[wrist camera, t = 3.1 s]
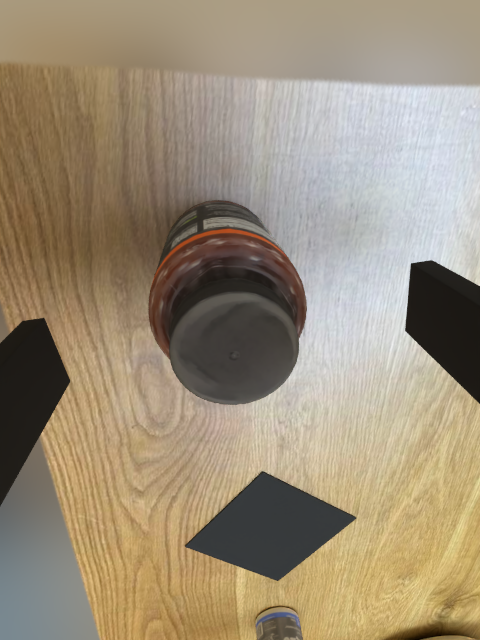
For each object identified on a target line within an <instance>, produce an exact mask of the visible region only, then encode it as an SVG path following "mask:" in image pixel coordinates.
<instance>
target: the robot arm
mask: <svg viewBox="0 0 480 640" xmlns="http://www.w3.org/2000/svg"><path fill="white" fill-rule="evenodd" d="M405 331H406V332H407V333H408V334H409V335H410V336H411V337H412V338H413V339H414V340H415V341H416V342H417V343H418V344H419V345H420V346H421V347H422V348H423V349H424V350H425V351H426V352H427V353H428V354H429V355H430V356H431V357H432V358H434V359H435V360H436V361H437V362H438V363H439V364H440V365H441V366H442V367H443V368H444V369H445V370H446V371H447V372H448V373H449V374H450V375H451V376H452V377H453V378H454V379H455V380H456V381H457V382H458V383H459V384H460V385H461V386H462V387H463V388H464V389H465V390H466V391H467V392H468V393H469V394H470V395H471V396H472V397H473V398H474V399H475V400H476V401H477V402H478V403H480V286H478V285H476V284H475V283H473V282H471V281H469V280H467V279H465V278H464V277H462V276H460V275H458V274H456V273H454V272H453V271H451V270H449V269H447V268H445V267H443V266H442V265H440V264H438V263H436V262H434V261H432V260H431V261H424V262H417V263H411V270H410V281H409V293H408V304H407V316H406V328H405ZM69 383H70V379H69V377H68V374H67V372H66V370H65V367H64V365H63V362H62V360H61V357H60V355H59V352H58V350H57V348H56V345H55V343H54V340H53V338H52V335H51V333H50V331H49V328H48V326H47V323H46V321H45V318H40V319H33V320H27V321H22V322H21V323H20V324H19V325H18V326H17V327H16V328H15V329H14V330H13V331H12V332H11V333H10V334H9V335H8V336H7V337H6V338H5V339H4V340H3V341H2V342H1V343H0V505H1V504H2V502H3V500H4V499H5V497H6V495H7V493H8V491H9V490H10V488H11V486H12V484H13V483H14V481H15V479H16V477H17V475H18V474H19V472H20V470H21V468H22V466H23V465H24V463H25V461H26V459H27V458H28V456H29V454H30V452H31V450H32V448H33V447H34V445H35V443H36V441H37V440H38V438H39V436H40V435H41V433H42V431H43V429H44V427H45V426H46V424H47V422H48V420H49V419H50V417H51V415H52V413H53V411H54V410H55V408H56V406H57V404H58V402H59V401H60V399H61V397H62V395H63V394H64V392H65V390H66V388H67V386H68V385H69Z"/></svg>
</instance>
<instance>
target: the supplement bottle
mask: <svg viewBox="0 0 480 640" xmlns="http://www.w3.org/2000/svg"><path fill="white" fill-rule="evenodd" d="M306 311H307V306H306V296H305V292H304V287H303V284H302V281H301V279H300V277H299V275H298V273H297V271H296V269H295V267H294V266H293V264H292V263H291V262H290V260H289V258H288V257H287V256H286V254H285V253H284V252H283V250H282V249H281V247H280V246H279V245H278V243H277V242H276V241H275V239H274V238H273V237H272V235H271V234H270V233H269V231H268V230H267V228H266V227H265V226H264V224H263V223H262V222H261V221H260V220H259V218H258V217H257V216H256V215H254V214H253V213H252V212H251V211H250V210H248V209H247V208H245V207H243V206H241V205H239V204H236V203H233V202H229V201H207V202H204V203H201V204H199V205H196V206H194V207H192V208H191V209H189V210H188V211H186V212H185V213H184V214H183V215H182V216H181V217H180V218H179V219H178V220H177V221H176V223H175V224H174V225H173V227H172V229H171V231H170V232H169V235H168V237H167V240H166V243H165V246H164V249H163V252H162V255H161V258H160V261H159V264H158V267H157V270H156V273H155V276H154V280H153V283H152V286H151V290H150V296H149V320H150V325H151V330H152V332H153V335H154V337H155V340H156V342H157V344H158V345H159V347H160V348H161V350H162V351H163V352H164V354H165V355H166V356H167V357H168V358H169V359H170V361H171V365H172V368H173V371H174V373H175V374H176V376H177V378H178V379H179V381H180V382H181V383H182V384H183V385H184V386H185V388H187V389H188V390H189V391H190V392H192V393H193V394H195V395H196V396H198V397H200V398H202V399H204V400H207V401H211V402H214V403H219V404H228V405H237V404H246V403H250V402H253V401H256V400H259V399H261V398H264V397H266V396H267V395H269V394H270V393H272V392H273V391H275V390H276V389H278V388H279V387H280V386H281V385H282V384H283V383H284V382H285V381H286V379H287V378H288V377H289V376H290V374H291V372H292V370H293V368H294V366H295V364H296V362H297V357H298V353H299V338H300V335H301V333H302V330H303V328H304V324H305V320H306Z"/></svg>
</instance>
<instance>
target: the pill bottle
mask: <svg viewBox="0 0 480 640" xmlns="http://www.w3.org/2000/svg"><path fill="white" fill-rule="evenodd" d="M256 634H257V640H303V637H302V632H301V627H300V621H299V617H298V615H297V613H296V612H295V611H294V610H292V609H290V608H286V607H276V608H272V609H268V610H266V611H264V612H262V613H261V614H260V615H259V616H258V617H257V619H256Z"/></svg>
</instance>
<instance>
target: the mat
mask: <svg viewBox="0 0 480 640" xmlns="http://www.w3.org/2000/svg"><path fill="white" fill-rule="evenodd" d="M355 519H356V517H354V516H352V515H350V514H348V513H346V512H344V511H342V510H340V509H338V508H336V507H334V506H332V505H329V504H327V503H325V502H323V501H321V500H319V499H317V498H315V497H313V496H311V495H309V494H307V493H305V492H303V491H301V490H299V489H297V488H295V487H293V486H291V485H289V484H287V483H285V482H283V481H281V480H279V479H277V478H275V477H272V476H270V475H268V474H266V473H264V472H262V473H261V474H260V475H259V476H258V477H256V478H255V479H254V480H253V481H252V482H251V483H250V484H249V485H248V486H247V487H246V488H245V489H244V490H243V491H242V492H241V493H240V494H239V495H238V496H237V497H236V498H235V499H234V500H233V501H231V502H230V503H229V504H228V505H227V506H226V507H225V508H224V509H223V510H222V511H221V512H220V513H219V514H218V515H217V516H216V517H215V518H214V519H213V520H212V521H211V522H210V523H209V524H207V525H206V526H205V527H204V528H203V529H202V530H201V531H200V532H199V533H198V534H197V535H196V536H195V537H194V538H193V539H192V540H191V541H190V542H189V543H188V544H187V545H186V546H185V547H187V548H190V549H192V550H195V551H198V552H200V553H203V554H206V555H209V556H211V557H214V558H217V559H220V560H222V561H225V562H228V563H230V564H233V565H236V566H239V567H241V568H244V569H247V570H249V571H252V572H255V573H258V574H260V575H263V576H266V577H269V578H271V579H274V580H277V581H279V580H280V579H281V578H282V577H284V576H285V575H286V574H287V573H289V572H290V571H291V570H292V569H294V568H295V567H296V566H297V565H299V564H300V563H301V562H302V561H304V560H305V559H306V558H307V557H309V556H310V555H311V554H312V553H314V552H315V551H316V550H317V549H319V548H320V547H321V546H322V545H324V544H325V543H326V542H327V541H329V540H330V539H331V538H332V537H334V536H335V535H336V534H337V533H339V532H340V531H341V530H342V529H344V528H345V527H346V526H348V525H349V524H350V523H351V522H353V521H354V520H355Z"/></svg>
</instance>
